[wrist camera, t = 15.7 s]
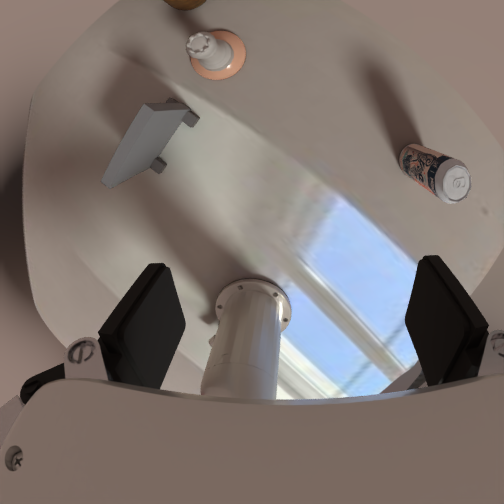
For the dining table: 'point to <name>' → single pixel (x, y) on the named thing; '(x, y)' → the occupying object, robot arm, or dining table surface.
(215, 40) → the rook chess piece
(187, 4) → the utensil holder
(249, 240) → the dining table surface
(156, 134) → the grey upright panel
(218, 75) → the pink round domed part
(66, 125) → the dining table surface
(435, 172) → the beer can
